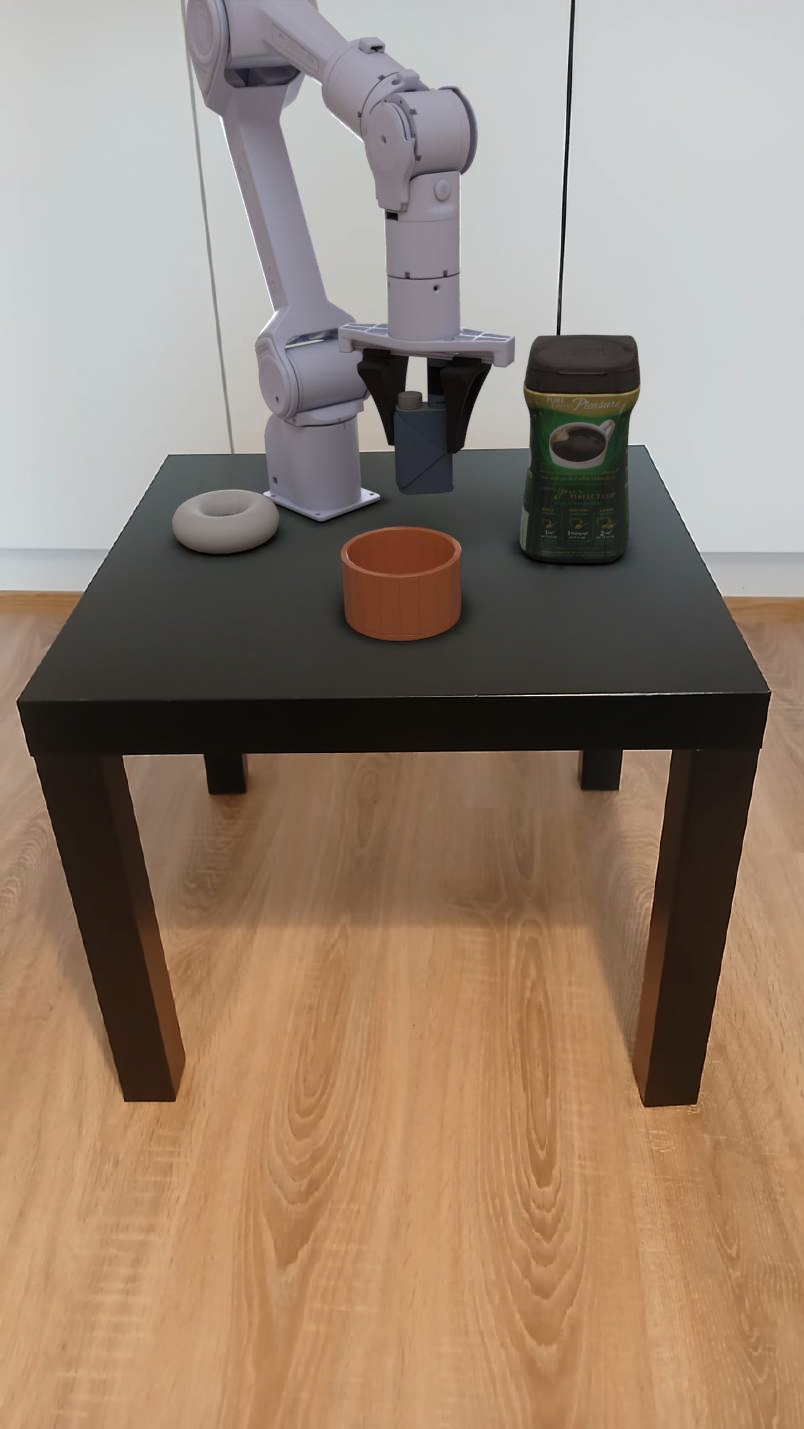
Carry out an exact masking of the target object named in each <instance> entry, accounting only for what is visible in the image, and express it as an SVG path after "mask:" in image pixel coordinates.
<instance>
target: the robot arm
mask: <svg viewBox="0 0 804 1429" xmlns="http://www.w3.org/2000/svg"><path fill="white" fill-rule="evenodd" d="M318 6H319V5H318V2H317V0H187V4H186V15H185V19H186V21H185V40H186V45H187V49H188V53H189V56H190V59H191V63H192V65H193V71H194V74H195V78H196V81H197V84H198V87H199V90H200V92H201V96H202V100H203V103H204V106H205V107H206V108H208V110H210V111H212V112H213V113H214V114H216V115H218V117H219V121H220V124H221V128H222V132H223V135H224V139H225V142H226V146H227V149H228V153H229V156H230V160H231V163H232V167H233V171H234V173H235V178H236V182H237V185H238V189H239V192H240V196H241V199H242V203H243V207H244V211H245V214H246V218H247V221H248V225H249V228H250V232H251V235H252V240H253V243H254V246H255V250H256V253H257V257H258V260H259V264H260V267H261V272H262V274H263V278H264V282H265V285H266V289H267V293H268V296H269V300H270V303H271V307H272V310H273V315H272V316H271V318H270V319H269V320H268V322H267V323H266V324H265V326H264V327H263V328H262V330H261V331H260V332H259V334H258V335H257V338H256V339H255V342H254V352H255V355H256V361H257V366H258V367H257V368H258V385H259V389H260V393H261V396H262V398H263V400H264V403H265V404H266V406H267V408H268V409H269V410H270V411H271V412H272V413H271V414H270V416H269V417H268V420H267V422H266V425H265V428H264V435H263V437H264V448H265V450H264V451H265V460H266V468H267V477H268V488H269V490H268V491H265V492H263V493H262V495H264V496H265V497H267V498H268V499H270V500H271V501H273V503H274V504H277V505H279V506H282V507H284V508H286V509H289V510H290V511H293V512H296V513H298V514H300V515H303V516H305V517H308V518H309V519H312V520H315V521H317V522H325V521H328V520H330V519H332V518H335V517H338V516H340V515H344V514H347V513H349V512H351V511H355V510H358V509H360V508H362V507H365V506H367V505H370V504H373V503H376V502H378V501H381V495H380V494H378V493H376V492H374V491H371V490H368V489H365V488H363V487H362V477H361V458H360V439H359V421H358V420H359V418H358V414H359V413H361V412H365V403H364V402H365V401H367V400H368V399H369V398H370V396H371V399H372V400H373V402H374V405H375V407H376V409H377V412H378V415H379V417H380V421H381V424H382V427H383V430H384V435H385V439H386V442H387V446H390V447H394V419H393V418H394V413H395V411H396V406H397V405H398V394H399V393H401V392H404V391H406V389H407V388H406V386H407V375H408V367H409V361H410V360H409V359H410V357H412V358H413V357H414V358H425V359H427V358H434V359H445V360H452V365H448V366H447V367H445V368H444V369H442V370H441V371H440V378H441V382H442V386H443V392H444V398H445V406H446V445H447V453H452V454H453V455H455V454H458V453H459V452H460V451H461V450H463V448H465V444H466V439H467V434H468V428H469V425H470V421H471V417H472V414H473V410H474V407H475V405H476V402H477V399H478V397H479V394H480V392H481V389H482V388H483V386H484V383H485V381H486V379H487V377H488V376H489V373H490V371H491V370H492V367H495V368H503V369H505V368H507V367H508V366H510V365H512V364H513V363H514V362H515V357H516V356H515V355H516V353H515V352H516V336H515V335H507V334H499V333H493V332H489V331H488V332H487V331H484V330H479V329H478V330H477V329H473V328H469V327H464V326H461V265H462V264H461V263H462V262H461V257H462V256H461V235H462V234H461V233H462V232H461V231H462V230H461V229H462V228H461V208H462V206H461V205H462V204H461V202H462V199H461V196H462V194H461V193H462V192H461V190H462V187H461V182H462V180H461V178H462V175H464V174H465V173H467V172H468V171H469V170H470V168H471V166H472V164H473V162H474V160H475V157H476V153H477V150H478V149H477V148H478V143H479V142H478V141H479V140H478V139H479V138H478V137H479V131H478V121H477V117H476V113H475V110H474V108H473V105H472V103H471V102H470V100H469V99H468V97H467V96H466V95H465V93H463V91H462V90H461V88H460V87H459V86H457V85H445V86H441V87H439V88H437V89H436V88H433V87H432V88H430V87H429V86H428V85H427V84H425V83H424V82H423V81H421V76H420V74H419V73H417V72H416V71H415V70H414V69H413V68H405V67H404V66H403V65H402V64H401V63H399V62H398V61H397V60H395V59H394V58H393V57H392V56H391V55H389V54H388V53H387V52H385V51H386V43H385V42H384V41H383V40H382V39H380V38H379V37H378V36H370V37H369V36H367V37H366V36H365V37H360V38H356V39H353V40H350V41H348V40H347V39H346V38H345V37H344V36H343V35H342V34H341V33H340V32H339V31H338V30H337V29H336V28H335V27H334V26H333V25H332V24H331V23H330V22H329V21H328V20H327V19H326V18H325V17H324V15H323V14H322V13H321V12H320V11H319V7H318ZM306 76H307V77H308V78H310V79H311V80H313V81H314V82H315V83H316V84H318V85H320V86H321V88H320V89H321V98H322V101H323V105H324V106H325V108H326V110H327V111H328V112H329V114H330V115H331V116H332V117H333V118H335V119H336V120H337V121H338V122H339V123H340V124H341V125H342V126H343V127H345V128H346V129H347V130H348V131H349V132H350V133H352V135H354V136H355V137H356V138H357V139H358V141H360V142H362V144H364V151H365V156H366V160H367V163H368V166H369V169H370V171H371V173H372V177H373V180H374V187H375V188H374V189H375V200H377V205H378V207H379V209H383V222H384V224H383V226H384V256H385V282H386V283H385V285H386V309H387V310H386V311H387V312H386V315H387V322H386V323H363V322H362V323H360V322H359V323H358V322H357V319H356V318H355V316H354V315H352V314H351V313H349V312H347V311H346V310H344V309H343V308H341V307H340V306H337V305H336V304H334V303H333V302H332V301H330V300H329V299H328V297H327V293H326V289H325V285H324V281H323V278H322V274H321V271H320V267H319V263H318V259H317V256H316V251H315V248H314V245H313V244H314V243H313V241H312V237H311V233H310V229H309V226H308V222H307V218H306V215H305V211H304V207H303V203H302V199H301V196H300V192H299V188H298V185H297V180H296V178H295V174H294V170H293V166H292V162H291V159H290V154H289V151H288V147H287V142H286V140H285V136H284V133H283V129H282V125H281V116H282V112H283V111H284V110H285V109H286V108H288V107H289V106H291V105H292V104H293V103H295V102H296V101H297V99H298V96H299V93H300V91H301V89H302V86H303V83H304V81H305V78H306ZM313 341H315V342H313ZM307 342H308V343H307ZM304 343H305V344H304ZM293 345H295V346H293ZM288 346H289V347H288Z"/></svg>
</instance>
